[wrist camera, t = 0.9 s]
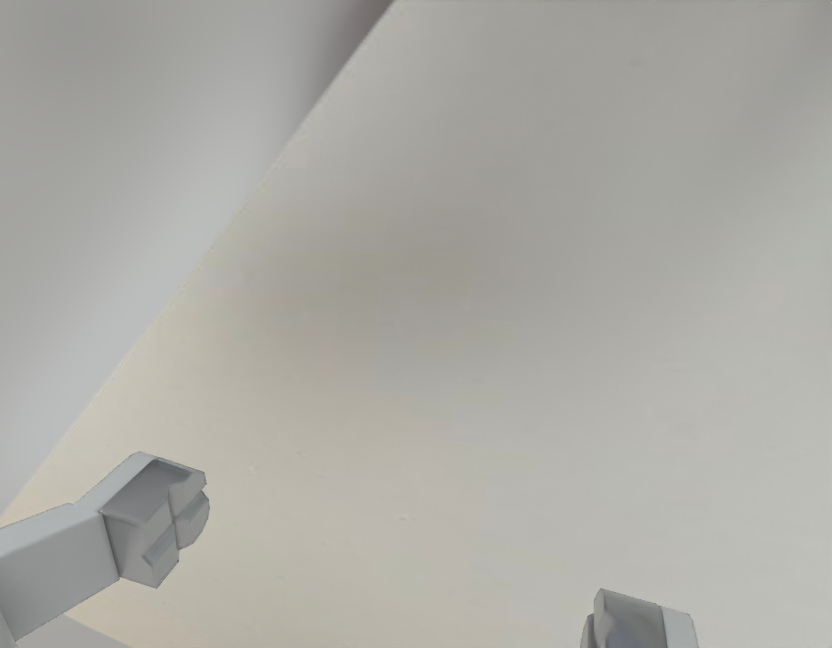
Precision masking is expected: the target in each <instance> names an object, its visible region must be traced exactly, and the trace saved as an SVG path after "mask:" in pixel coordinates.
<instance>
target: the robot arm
mask: <svg viewBox="0 0 832 648" xmlns="http://www.w3.org/2000/svg"><path fill="white" fill-rule="evenodd" d="M206 484H207V483H206V478H205V473H204V472H202V471H199V470H196V469H193V468H190V467H187V466H184V465H181V464H178V463H175V462H172V461H169V460H166V459H163V458H160V457H157V456H153V455H150V454H147V453H144V452H137V453H134V454H132V455H130V456H129V457H128V458H127V459H125V460H124V461H123V462H122V463H121V464H120V465H119V466H117V467H116V468H115V469H114V470H113V471H112V472H111V473H109V474H108V475H107V476H106V477H105V478H104V479H103V480H101V481H100V482H99V483H98V484H97V485H96V486H95V487H93V488H92V489H91V490H90V491H89V492H88V493H87V494H85V495H84V496H83V497H82V498H81V499H80V500H79V501H77V502H76V503H75V504H71V503H66V504H63V505H61V506H58V507H55V508H53V509H50V510H47V511H45V512H42V513H40V514H37V515H34V516H32V517H29V518H26V519H24V520H21V521H18V522H16V523H13V524H10V525H8V526H5V527H2V528H0V648H18V647H17V645H16V642H15V641H17V640H19V639H20V638H22V637H24V636H25V635H27V634H29V633H30V632H32V631H34V630H35V629H37V628H39V627H40V626H42V625H44V624H46V623H47V622H49V621H51V620H52V619H54V618H56V617H57V616H59V615H61V614H62V613H64V612H66V611H67V610H69V609H71V608H73V607H74V606H76V605H78V604H79V603H81V602H83V601H84V600H86V599H88V598H89V597H91V596H93V595H94V594H96V593H98V592H100V591H101V590H103V589H105V588H106V587H108V586H110V585H111V584H113V583H115V582H116V581H118V580H119V579H120V578H119V577H121V578H125V579H128V580H131V581H134V582H137V583H140V584H144V585H147V586H150V587H153V588H156V589H157V588H158V586H159V585H160V584H161V583H162V582H163V580H164V579H165V578H166V577H167V575H168V574H169V573H170V572H171V570H172V569H173V568H174V567H175V565H176V564H177V563H178V562H179V550H181V549H183V548H185V547H187V546H189V545H191V544H193V543H194V542H195V540H196V539H197V538H198V536H199V535H200V534H201V532H202V531H203V528H204V526H205V524H206V522H207V520H208V515H209V509H210V506H209V499H208V498H207V496H206V495H205V494H204V492H203V491H202V489H203V488H204V486H205V485H206ZM580 648H699V647H698V642H697V637H696V632H695V627H694V622H693V620H692V618H691V616H690V615H689V614H687V613H683V612H680V611H677V610H673V609H670V608H666V607H663V606H660V605H657V604H655V603H651V602H648V601H644V600H641V599H637V598H634V597H630V596H627V595H623V594H619V593H616V592H612V591H609V590H605V589H602V588H601V589H600V590H599V591H598V592H597V594H596V597H595V599H594V613H593V614H591V615H589V616H588V617H587V620H586V623H585V625H584V629H583V634H582V639H581V645H580Z"/></svg>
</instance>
